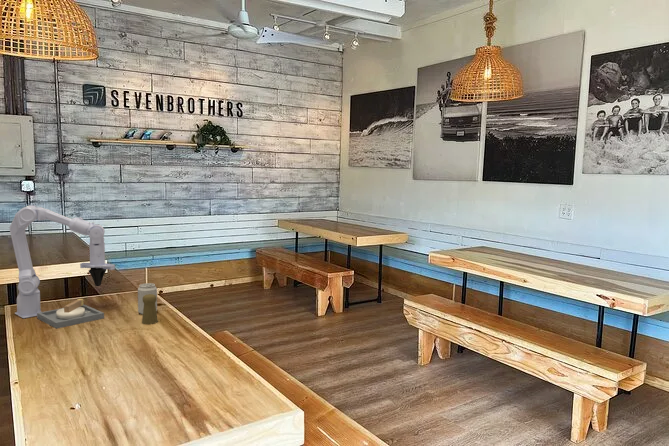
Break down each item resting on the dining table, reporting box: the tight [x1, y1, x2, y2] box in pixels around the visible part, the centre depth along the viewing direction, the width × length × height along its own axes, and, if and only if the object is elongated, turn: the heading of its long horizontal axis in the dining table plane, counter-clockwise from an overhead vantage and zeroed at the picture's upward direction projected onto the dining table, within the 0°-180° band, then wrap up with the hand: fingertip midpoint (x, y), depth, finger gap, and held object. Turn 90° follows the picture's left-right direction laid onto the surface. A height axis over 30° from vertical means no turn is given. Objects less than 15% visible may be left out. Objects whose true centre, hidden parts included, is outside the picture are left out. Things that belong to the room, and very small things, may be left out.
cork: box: [141, 294, 159, 325], centre depth 197 cm, size 6×6×11 cm
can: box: [137, 282, 158, 315], centre depth 209 cm, size 8×8×12 cm
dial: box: [56, 298, 85, 319], centre depth 200 cm, size 10×13×4 cm
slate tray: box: [36, 304, 105, 329], centre depth 199 cm, size 18×18×2 cm
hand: (98, 285), depth 211 cm, fingers closed
